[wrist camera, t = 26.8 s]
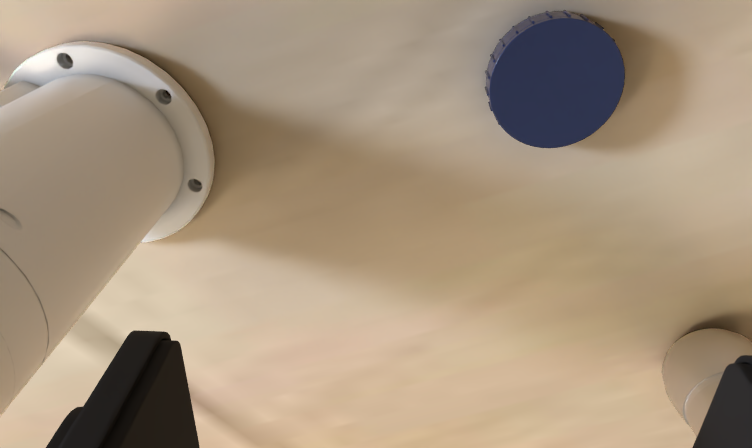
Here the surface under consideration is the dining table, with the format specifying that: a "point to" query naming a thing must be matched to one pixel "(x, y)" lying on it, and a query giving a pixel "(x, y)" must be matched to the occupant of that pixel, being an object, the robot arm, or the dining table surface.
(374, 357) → the dining table surface
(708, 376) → the plastic bottle
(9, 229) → the robot arm
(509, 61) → the jar lid
